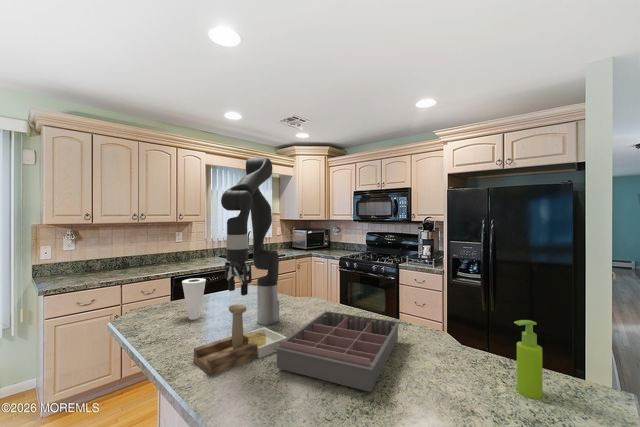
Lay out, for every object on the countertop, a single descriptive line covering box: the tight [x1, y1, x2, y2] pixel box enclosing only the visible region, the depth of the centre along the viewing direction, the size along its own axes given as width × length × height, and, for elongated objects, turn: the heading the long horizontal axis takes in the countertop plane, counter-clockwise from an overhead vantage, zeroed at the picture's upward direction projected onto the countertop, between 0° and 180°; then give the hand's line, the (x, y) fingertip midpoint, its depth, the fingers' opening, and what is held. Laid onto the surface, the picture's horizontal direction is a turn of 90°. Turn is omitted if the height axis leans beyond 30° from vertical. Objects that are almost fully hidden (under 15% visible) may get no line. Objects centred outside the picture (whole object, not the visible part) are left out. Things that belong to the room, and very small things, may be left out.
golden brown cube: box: [255, 332, 266, 349], centre depth 113 cm, size 4×4×4 cm
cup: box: [181, 277, 207, 321], centre depth 145 cm, size 11×11×18 cm
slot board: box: [192, 335, 258, 377], centre depth 104 cm, size 17×13×4 cm
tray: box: [243, 326, 288, 359], centre depth 114 cm, size 12×15×4 cm
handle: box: [228, 304, 247, 349], centre depth 107 cm, size 5×6×15 cm
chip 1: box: [242, 331, 257, 346], centre depth 110 cm, size 4×4×4 cm
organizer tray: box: [274, 310, 401, 393], centre depth 107 cm, size 32×40×10 cm
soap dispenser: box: [513, 319, 543, 400], centre depth 84 cm, size 6×7×20 cm
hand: (237, 292), depth 107 cm, fingers open, 8 cm apart
